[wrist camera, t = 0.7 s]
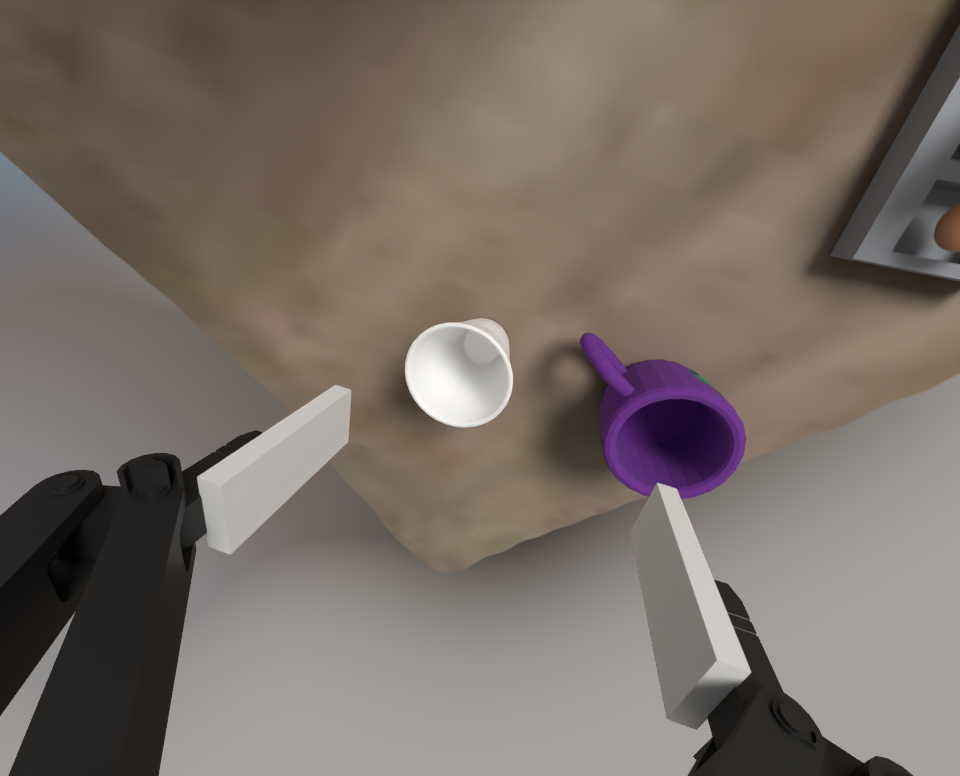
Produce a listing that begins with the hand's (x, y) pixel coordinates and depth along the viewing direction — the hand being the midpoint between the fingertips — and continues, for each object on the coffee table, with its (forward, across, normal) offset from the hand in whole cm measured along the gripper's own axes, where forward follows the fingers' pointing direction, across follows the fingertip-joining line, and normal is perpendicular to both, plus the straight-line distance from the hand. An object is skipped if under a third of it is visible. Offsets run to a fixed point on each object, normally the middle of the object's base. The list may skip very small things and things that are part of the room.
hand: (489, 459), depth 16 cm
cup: (+27, -5, -4) cm, 28 cm away
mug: (+27, +12, -4) cm, 30 cm away
